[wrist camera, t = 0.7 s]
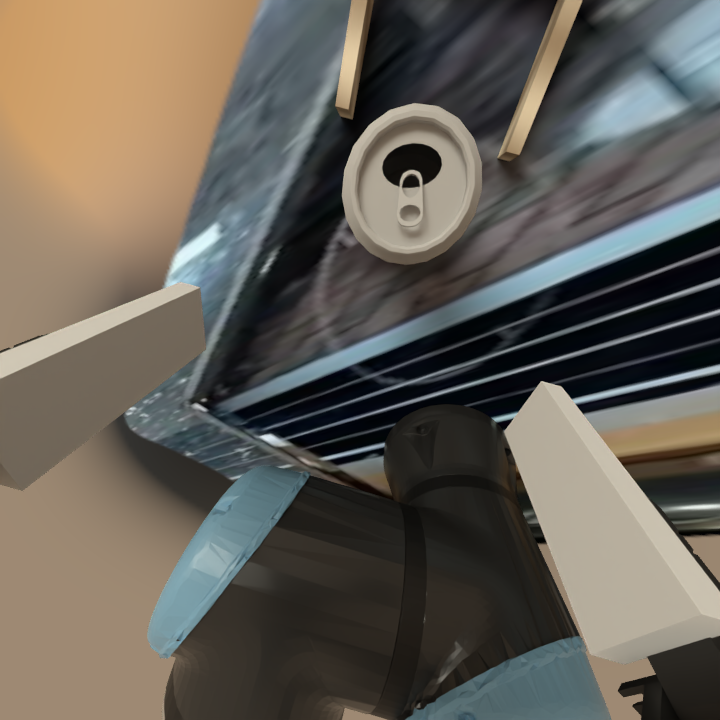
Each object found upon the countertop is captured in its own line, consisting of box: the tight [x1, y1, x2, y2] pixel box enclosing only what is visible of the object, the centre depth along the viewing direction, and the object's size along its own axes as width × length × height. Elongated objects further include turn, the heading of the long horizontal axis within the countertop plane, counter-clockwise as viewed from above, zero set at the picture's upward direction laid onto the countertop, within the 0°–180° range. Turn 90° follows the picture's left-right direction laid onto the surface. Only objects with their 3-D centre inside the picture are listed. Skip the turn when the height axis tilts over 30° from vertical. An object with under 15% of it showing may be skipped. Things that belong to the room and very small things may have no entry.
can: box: [342, 103, 482, 265], centre depth 19 cm, size 8×8×12 cm
